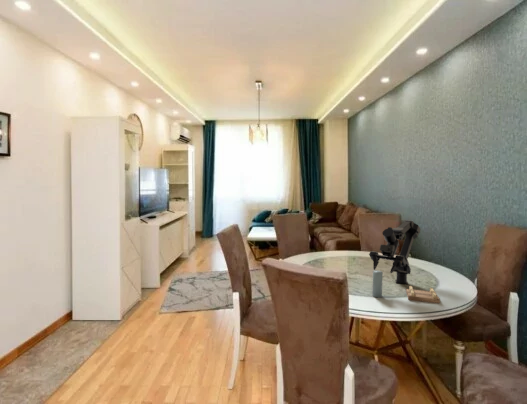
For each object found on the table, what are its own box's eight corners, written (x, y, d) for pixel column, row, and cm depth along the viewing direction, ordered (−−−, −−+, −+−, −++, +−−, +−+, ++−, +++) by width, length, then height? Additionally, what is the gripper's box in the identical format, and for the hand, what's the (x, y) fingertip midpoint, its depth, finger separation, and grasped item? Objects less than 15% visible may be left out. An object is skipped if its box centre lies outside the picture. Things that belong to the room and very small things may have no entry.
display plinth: (406, 292, 175) (406, 285, 175) (435, 295, 171) (435, 288, 170) (408, 300, 164) (408, 292, 164) (439, 303, 159) (439, 295, 159)
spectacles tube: (372, 294, 173) (372, 270, 172) (381, 295, 171) (382, 270, 170) (372, 297, 168) (372, 272, 167) (382, 298, 167) (382, 273, 166)
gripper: (370, 236, 182) (361, 259, 175) (404, 241, 169) (395, 265, 162) (376, 248, 189) (367, 271, 181) (409, 253, 176) (401, 277, 168)
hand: (382, 271), depth 173 cm, fingers open, 9 cm apart
